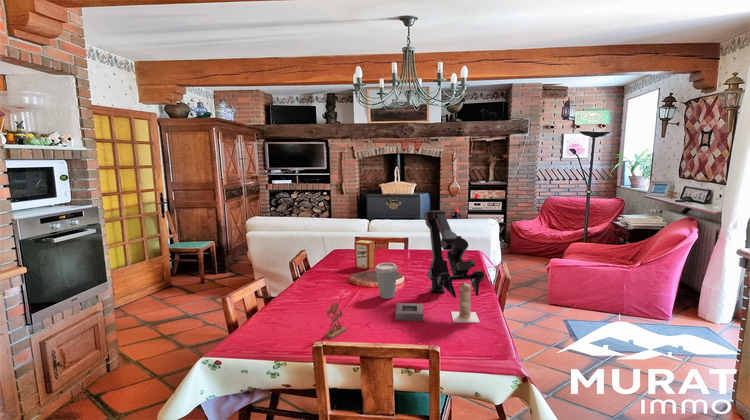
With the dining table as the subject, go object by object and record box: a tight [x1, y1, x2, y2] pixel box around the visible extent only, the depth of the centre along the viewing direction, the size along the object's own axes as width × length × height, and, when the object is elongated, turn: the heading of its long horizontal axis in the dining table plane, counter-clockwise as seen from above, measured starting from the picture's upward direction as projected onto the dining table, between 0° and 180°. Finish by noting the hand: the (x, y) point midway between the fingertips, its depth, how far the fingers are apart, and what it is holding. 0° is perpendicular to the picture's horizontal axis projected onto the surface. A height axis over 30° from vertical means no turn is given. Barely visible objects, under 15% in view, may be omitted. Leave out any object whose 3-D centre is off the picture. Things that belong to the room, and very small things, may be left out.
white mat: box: [450, 311, 480, 324], centre depth 161 cm, size 10×10×1 cm
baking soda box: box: [354, 239, 376, 271], centre depth 235 cm, size 10×6×16 cm
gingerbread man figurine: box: [323, 301, 347, 340], centre depth 147 cm, size 9×4×12 cm, turn 147°
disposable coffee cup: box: [374, 262, 398, 299], centre depth 186 cm, size 11×11×15 cm
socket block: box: [394, 302, 425, 322], centre depth 164 cm, size 11×11×3 cm
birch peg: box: [458, 282, 472, 319], centre depth 160 cm, size 4×4×13 cm
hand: (466, 297), depth 158 cm, fingers open, 9 cm apart
